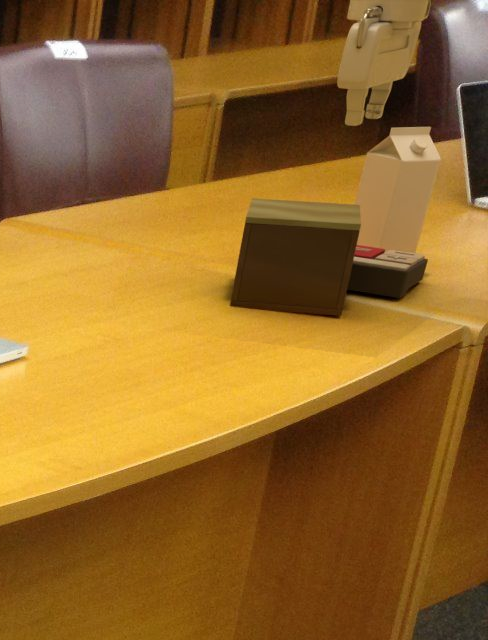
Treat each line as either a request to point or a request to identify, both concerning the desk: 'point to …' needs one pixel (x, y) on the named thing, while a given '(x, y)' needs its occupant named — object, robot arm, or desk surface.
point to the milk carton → (397, 189)
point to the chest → (294, 268)
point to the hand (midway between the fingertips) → (363, 121)
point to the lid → (304, 214)
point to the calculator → (385, 271)
